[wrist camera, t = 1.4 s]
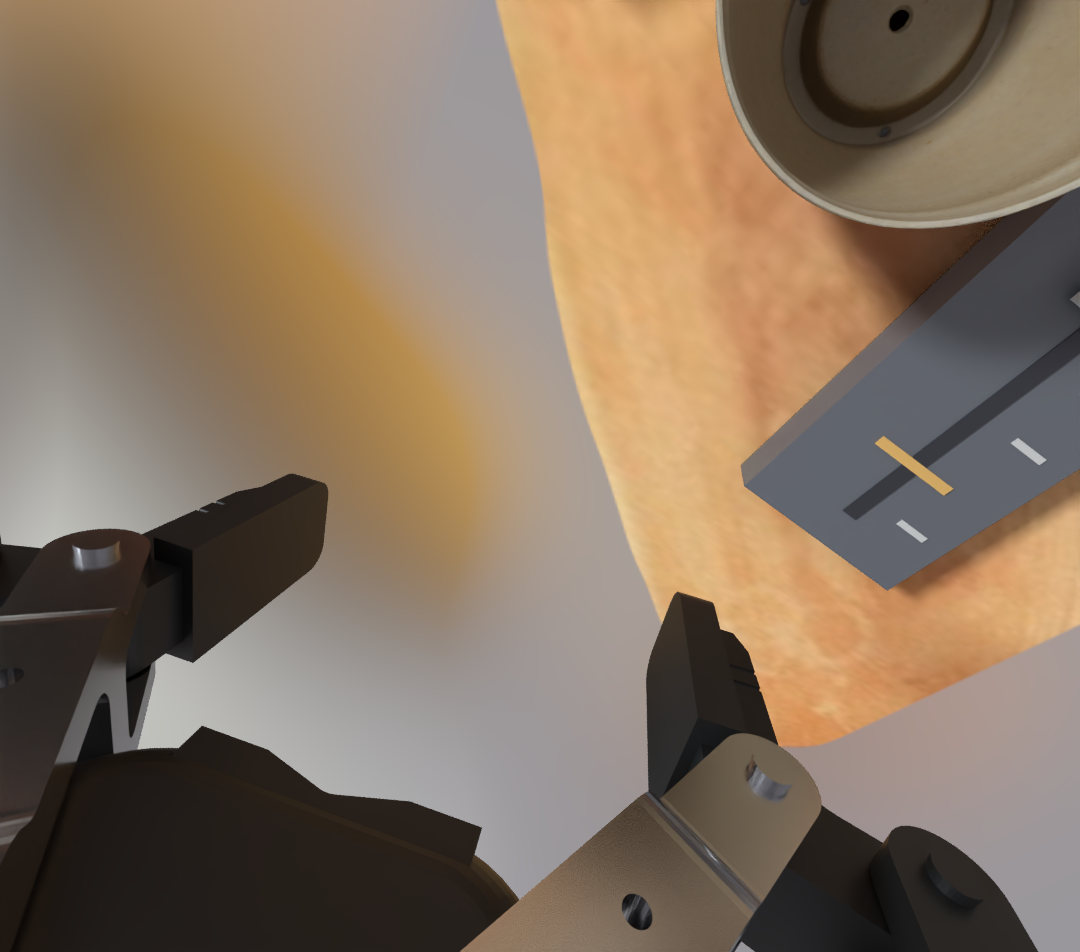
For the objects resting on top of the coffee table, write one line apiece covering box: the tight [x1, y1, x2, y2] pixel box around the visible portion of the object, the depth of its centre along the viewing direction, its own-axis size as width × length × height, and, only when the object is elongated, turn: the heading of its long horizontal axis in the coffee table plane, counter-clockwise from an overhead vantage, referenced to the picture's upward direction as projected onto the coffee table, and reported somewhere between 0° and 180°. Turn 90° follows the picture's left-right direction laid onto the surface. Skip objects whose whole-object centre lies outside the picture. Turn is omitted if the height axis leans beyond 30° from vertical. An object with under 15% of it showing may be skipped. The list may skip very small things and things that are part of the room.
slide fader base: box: [741, 187, 1080, 590], centre depth 29 cm, size 22×12×3 cm, turn 147°
